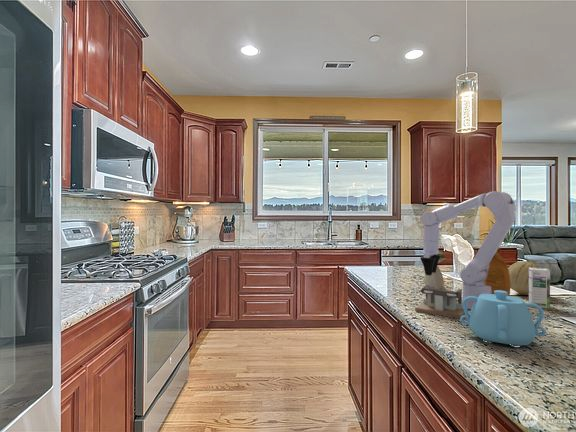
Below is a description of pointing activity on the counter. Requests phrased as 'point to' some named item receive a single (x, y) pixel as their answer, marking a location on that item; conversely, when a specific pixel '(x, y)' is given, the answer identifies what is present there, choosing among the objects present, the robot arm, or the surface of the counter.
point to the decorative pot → (502, 319)
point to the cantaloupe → (521, 276)
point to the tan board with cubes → (441, 306)
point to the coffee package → (498, 274)
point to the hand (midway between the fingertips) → (430, 273)
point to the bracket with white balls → (443, 294)
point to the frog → (436, 277)
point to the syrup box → (539, 287)
